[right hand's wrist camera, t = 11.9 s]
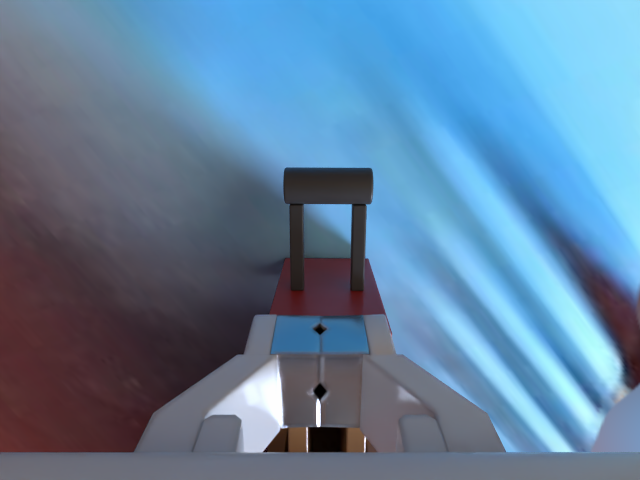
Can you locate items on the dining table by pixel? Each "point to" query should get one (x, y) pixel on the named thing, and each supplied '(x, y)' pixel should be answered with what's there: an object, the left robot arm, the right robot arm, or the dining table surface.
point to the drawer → (327, 277)
